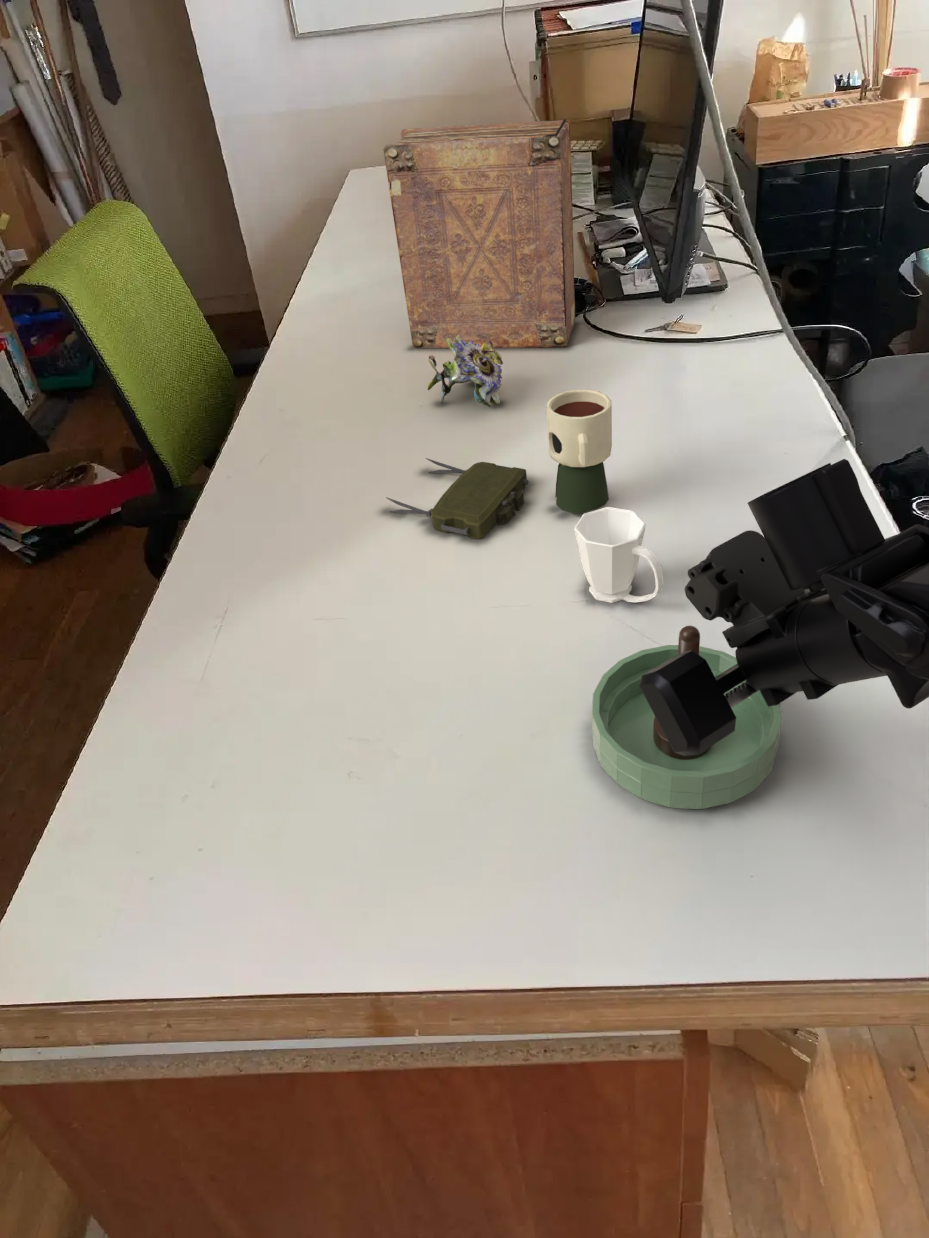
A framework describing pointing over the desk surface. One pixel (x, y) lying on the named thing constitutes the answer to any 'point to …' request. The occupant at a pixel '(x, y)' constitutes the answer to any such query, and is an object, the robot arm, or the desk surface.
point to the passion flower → (471, 370)
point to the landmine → (476, 499)
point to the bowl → (665, 779)
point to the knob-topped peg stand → (687, 642)
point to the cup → (614, 553)
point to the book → (485, 232)
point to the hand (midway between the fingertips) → (697, 673)
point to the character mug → (580, 447)
